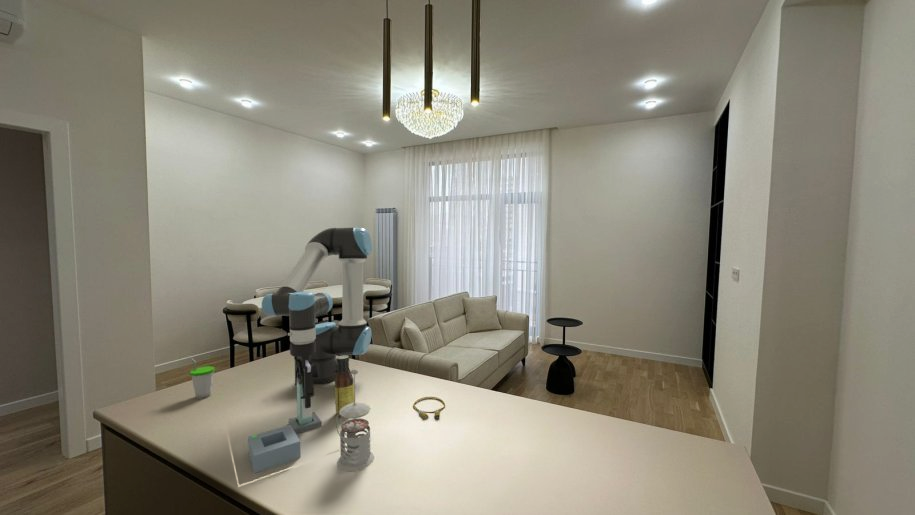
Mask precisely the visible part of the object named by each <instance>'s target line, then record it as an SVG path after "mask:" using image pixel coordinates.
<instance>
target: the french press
mask: <svg viewBox="0 0 915 515" xmlns="http://www.w3.org/2000/svg"><path fill="white" fill-rule="evenodd" d="M350 372H351V374H352V375H353V380H354V403H351V404H348V405H345V406H344V407H343V408H341V409H340V411H339V414H340V415H341V417H340V426H341V429H340V431H339V429H338V421H337V420H338V418H339V417H338V416H339V414H338V415H336V417H335V428H336V432H337V434H338V437H339V438H340V443H339V444H340V446H339V447H340V456H339V457H338V459H337V461H336V465H337V468H338V469H340V470H341V471H345V472H358V471H360V470H361V471H362V470H364V469H366V468H367V467H369V466H370V465H372V463H373V462H374V459H375V456H374V453H373V452H371V427H370V425H369V424H370V423H369V421H368V420H367V419H366V418H365V419H364V418H363V417H365V416H367V415H368V414H369V413H370V411H371V407H370V405H368V404H366V403H364V402H360V401H359V402H356V374H358V373H359V370H358V369H357V368H352V369H350ZM343 418H345V419H348V420H346V421H345V422H343V421H342V420H343ZM362 432H364V433H362Z"/></svg>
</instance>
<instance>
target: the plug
mask: <svg viewBox="0 0 915 515" xmlns="http://www.w3.org/2000/svg"><path fill="white" fill-rule="evenodd" d="M301 397H303V390H302V379H301V376H297V389H296V404H297V405H296V408H297V410H296V411H297V415H296V416H297V417H298V425H302V424H306V423H309V422H312V416H311V417H308V418H304V419H303V418H302V399H301Z"/></svg>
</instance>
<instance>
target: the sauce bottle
mask: <svg viewBox="0 0 915 515" xmlns="http://www.w3.org/2000/svg"><path fill="white" fill-rule="evenodd" d="M336 359H337V366H338V369H337V370H338V371H337V374H336V376H335V380H334V400H335V413H336V414H335V415H336V416H337V415H338V414H339V411H340V409H341V408H343V407H344V406H345V405H348V404H351V403H354V376H353V374H351V369H350V356H349V355H347V354H342V355H339V356H336ZM338 418H341V415H340V414H339V416H338Z"/></svg>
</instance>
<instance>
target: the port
mask: <svg viewBox="0 0 915 515" xmlns="http://www.w3.org/2000/svg"><path fill="white" fill-rule="evenodd" d="M247 446H248V447H247V449H248V450H247V452H248V457H249V460H250V463H251V466H252V470H253V472H254V474H255V473H260V472H262V471H265V470H268V469H270V468H274V467H277V466H280V465H282V464H283V465H284V464H286V463H288V462H292V461H294V460H297V459H300V458H301V440H300V438H299V437H298V435H297V434H296V433H295V431H294V429H293V428H292V426H291V425H289V424H288V425H285V426H280V427H277V428H274V429H270V430H267V431H264V432H260V433H257V434H252V435H250V436H248V437H247Z"/></svg>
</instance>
